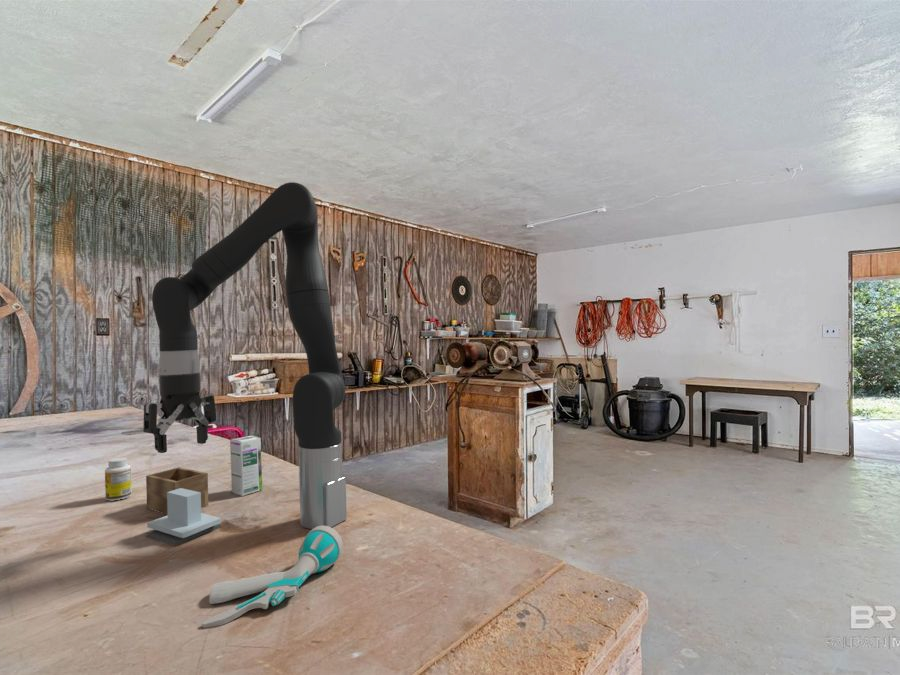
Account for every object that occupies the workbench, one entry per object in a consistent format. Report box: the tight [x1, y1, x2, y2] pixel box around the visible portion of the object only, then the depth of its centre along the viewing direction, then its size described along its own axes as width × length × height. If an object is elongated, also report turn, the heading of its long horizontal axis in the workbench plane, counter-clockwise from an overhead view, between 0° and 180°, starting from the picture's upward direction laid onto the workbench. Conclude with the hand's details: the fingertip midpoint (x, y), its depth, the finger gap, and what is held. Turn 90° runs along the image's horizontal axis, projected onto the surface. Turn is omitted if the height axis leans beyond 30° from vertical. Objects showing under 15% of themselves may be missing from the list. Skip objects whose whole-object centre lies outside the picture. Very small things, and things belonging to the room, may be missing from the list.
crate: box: [145, 467, 209, 515], centre depth 112 cm, size 12×8×8 cm, turn 62°
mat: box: [146, 523, 222, 546], centre depth 97 cm, size 10×10×1 cm
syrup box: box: [229, 435, 263, 497], centre depth 122 cm, size 6×6×14 cm
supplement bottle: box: [104, 457, 133, 502], centre depth 119 cm, size 6×6×10 cm
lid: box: [146, 488, 222, 538], centre depth 97 cm, size 12×8×8 cm
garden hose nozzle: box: [201, 525, 344, 629], centre depth 75 cm, size 7×18×20 cm
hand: (182, 447), depth 97 cm, fingers open, 8 cm apart
